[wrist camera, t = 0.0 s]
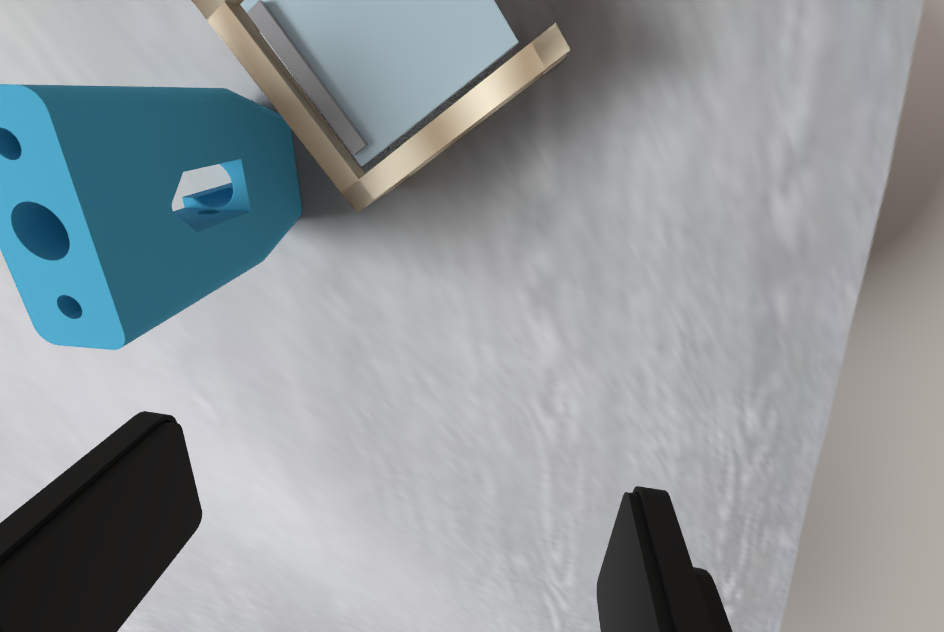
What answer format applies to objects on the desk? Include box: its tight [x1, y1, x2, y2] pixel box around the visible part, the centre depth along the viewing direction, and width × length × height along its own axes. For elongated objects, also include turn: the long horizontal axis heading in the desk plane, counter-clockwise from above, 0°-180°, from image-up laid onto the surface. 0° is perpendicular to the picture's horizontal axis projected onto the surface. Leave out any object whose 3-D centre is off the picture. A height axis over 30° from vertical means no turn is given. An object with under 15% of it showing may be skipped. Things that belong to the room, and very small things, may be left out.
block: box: [0, 84, 302, 350], centre depth 30 cm, size 12×5×20 cm, turn 178°
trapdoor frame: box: [192, 0, 570, 213], centre depth 29 cm, size 16×14×10 cm
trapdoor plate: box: [240, 0, 518, 167], centre depth 26 cm, size 12×10×1 cm
